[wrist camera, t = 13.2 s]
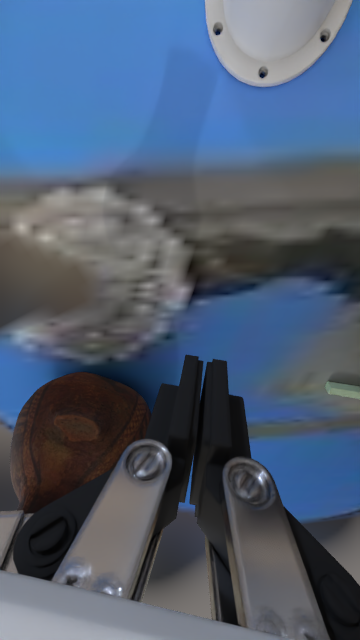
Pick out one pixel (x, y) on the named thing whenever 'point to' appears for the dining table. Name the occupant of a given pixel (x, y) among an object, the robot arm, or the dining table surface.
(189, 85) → the dining table surface
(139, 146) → the dining table surface
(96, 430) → the jug
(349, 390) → the frame
